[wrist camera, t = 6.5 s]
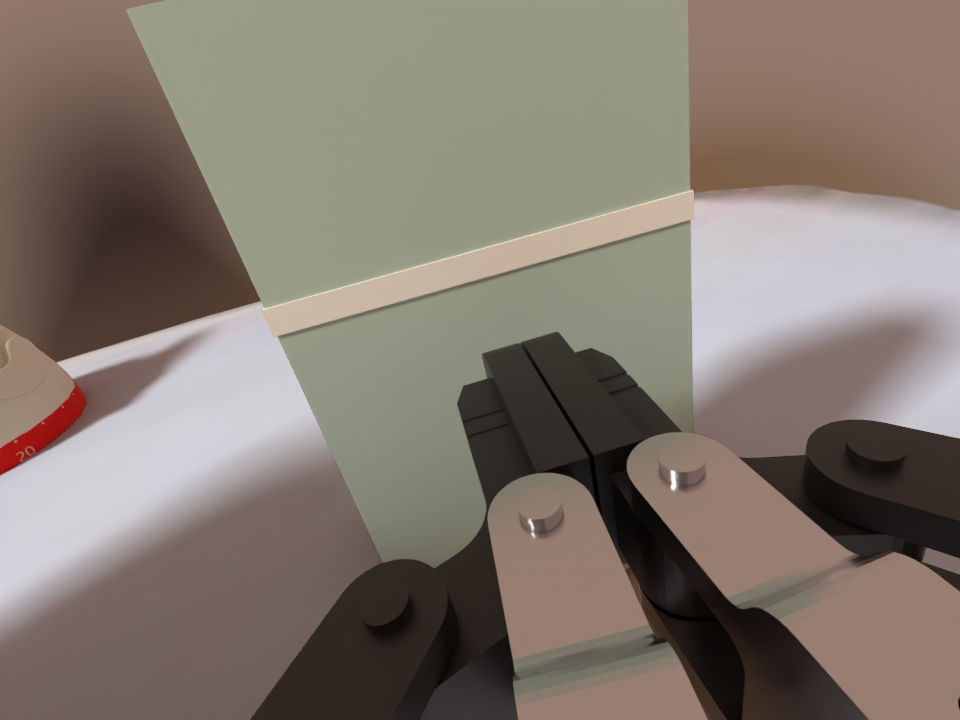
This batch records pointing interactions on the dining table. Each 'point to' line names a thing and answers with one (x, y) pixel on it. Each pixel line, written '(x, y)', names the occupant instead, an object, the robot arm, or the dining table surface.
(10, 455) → the kitchen timer
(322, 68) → the green box
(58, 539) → the dining table surface
